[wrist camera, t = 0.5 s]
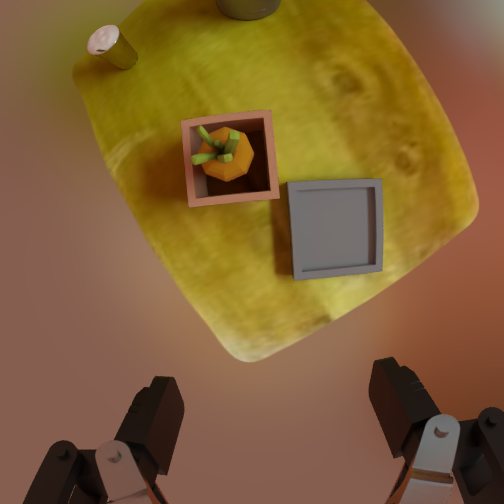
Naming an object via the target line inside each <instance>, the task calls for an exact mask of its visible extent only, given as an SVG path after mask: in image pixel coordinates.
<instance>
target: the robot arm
mask: <svg viewBox="0 0 504 504" xmlns="http://www.w3.org/2000/svg"><path fill="white" fill-rule="evenodd" d="M216 2H217V6H218V8H219V9H220V11H221V12H222V13H224V14H225V15H227V16H229V17H231V18H235V19H241V20H254V19H260V18H263V17H266V16H268V15H271V14H272V13H273V12H275V11H276V10H277V9H278V7H279V5H280V0H216ZM369 398H370V401H371V403H372V406H373V408H374V411H375V413H376V415H377V418H378V420H379V422H380V425H381V427H382V430H383V432H384V435H385V437H386V440H387V442H388V445H389V447H390V450H391V453H392V455H393V458H398V457H400V456H403V457H404V459H405V462H404V464H403V466H402V468H401V471H400V473H399V475H398V478H397V480H396V482H395V484H394V486H393V489H392V491H391V493H390V495H389V497H388V499H387V500H386V503H385V504H447V502H448V499H449V496H450V493H451V490H452V486H453V482H454V479H453V477H450V473H451V470H452V472H453V474H454V477H455V479H456V482H457V484H458V487H459V490H460V493H461V495H462V498H463V501H464V504H504V412H503V411H501V410H500V409H498V408H495V407H489V408H486V409H484V410H483V411H482V412H481V413H480V414H479V416H478V418H477V419H472V420H466V421H457V420H456V419H455V418H454V417H452V416H449V415H444V414H443V415H442V414H441V413H440V411H439V409H438V408H437V406H436V405H435V403H434V401H433V400H432V398H431V397H430V395H429V394H428V392H427V391H426V389H424V386H423V385H422V383H421V382H420V380H419V378H418V377H417V375H416V374H415V372H413V371H412V370H410V369H409V368H408V367H406V366H402V367H400V366H399V365H398V363H397V362H396V360H395V359H394V358H393V357H388V358H384V359H379V360H375V361H374V364H373V369H372V374H371V379H370V384H369ZM183 416H184V402H183V400H182V397H181V394H180V391H179V389H178V386H177V383H176V380H175V379H174V377H164V376H155V377H154V379H153V381H152V383H151V385H150V387H144V388H143V389H142V390H141V391H140V392H138V393H137V394H136V396H135V398H134V400H133V402H132V405H131V406H130V408H129V410H128V413H127V414H126V416H125V418H124V420H123V422H122V424H121V426H120V428H119V430H118V432H117V434H116V437H115V439H114V440H112V441H107V442H105V443H103V444H102V445H100V446H99V447H98V449H96V450H78V449H77V448H76V446H75V445H74V444H73V443H71V442H69V441H64V440H62V441H58V442H56V443H54V444H53V445H52V446H51V447H50V449H49V451H48V453H47V455H46V456H45V458H44V460H43V462H42V464H41V466H40V468H39V470H38V472H37V474H36V476H35V478H34V480H33V482H32V484H31V486H30V489H29V491H28V493H27V495H26V497H25V500H24V502H23V504H68V501H69V499H70V501H69V504H169V503H168V501H167V500H166V498H165V496H164V495H163V493H162V491H161V490H160V488H159V486H158V484H157V483H156V481H155V480H156V477H157V474H160V475H167V473H168V470H169V466H170V463H171V459H172V455H173V452H174V448H175V444H176V441H177V437H178V434H179V430H180V427H181V423H182V420H183ZM74 486H75V488H74ZM73 488H74V490H73ZM72 491H73V493H72ZM71 493H72V496H71ZM70 496H71V498H70ZM108 497H109V502H107V500H108Z"/></svg>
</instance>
